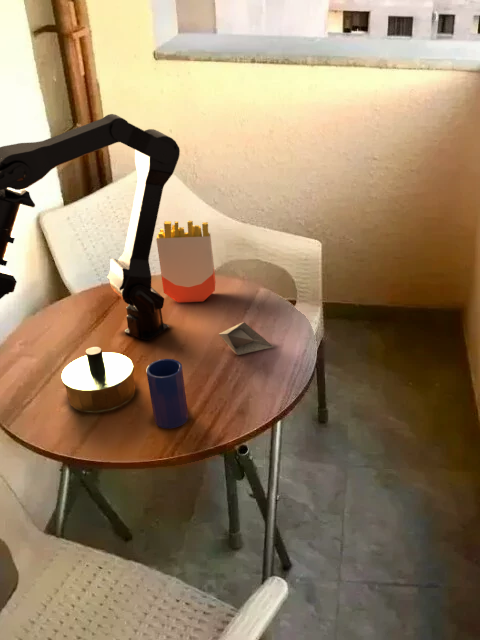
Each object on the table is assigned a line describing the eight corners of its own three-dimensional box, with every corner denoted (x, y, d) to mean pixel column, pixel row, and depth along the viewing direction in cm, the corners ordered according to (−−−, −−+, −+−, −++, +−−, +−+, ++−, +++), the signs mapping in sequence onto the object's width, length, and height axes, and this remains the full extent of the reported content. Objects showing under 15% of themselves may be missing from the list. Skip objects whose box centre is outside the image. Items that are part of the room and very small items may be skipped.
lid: (99, 351, 132) (94, 326, 129) (148, 369, 127) (144, 344, 124) (47, 383, 123) (41, 357, 121) (98, 404, 118) (92, 377, 115)
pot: (103, 371, 134) (99, 350, 131) (148, 388, 129) (145, 367, 126) (55, 401, 126) (50, 379, 123) (102, 421, 121) (97, 399, 118)
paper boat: (255, 326, 145) (287, 330, 138) (249, 358, 144) (281, 363, 138) (209, 314, 136) (241, 317, 130) (202, 348, 136) (234, 353, 129)
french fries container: (167, 293, 160) (156, 215, 150) (216, 291, 161) (209, 213, 151) (165, 303, 156) (154, 224, 146) (215, 300, 157) (208, 221, 147)
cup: (170, 405, 124) (162, 355, 119) (195, 414, 122) (189, 364, 116) (147, 421, 120) (138, 371, 115) (173, 432, 118) (165, 381, 112)
